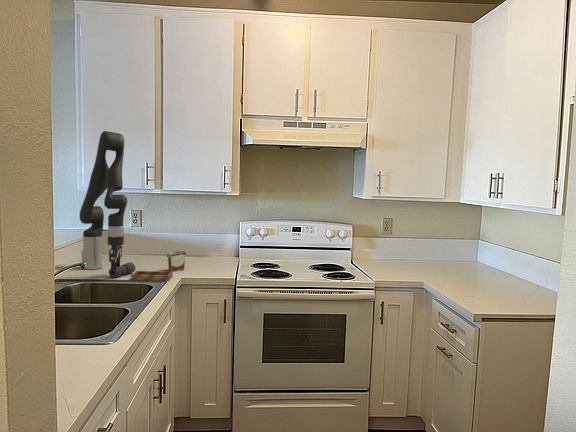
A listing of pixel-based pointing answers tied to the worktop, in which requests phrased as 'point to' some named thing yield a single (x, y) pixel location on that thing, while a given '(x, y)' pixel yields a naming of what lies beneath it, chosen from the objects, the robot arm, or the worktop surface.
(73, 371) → the worktop surface
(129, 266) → the flashlight
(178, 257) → the food container
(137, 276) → the open wooden frame
